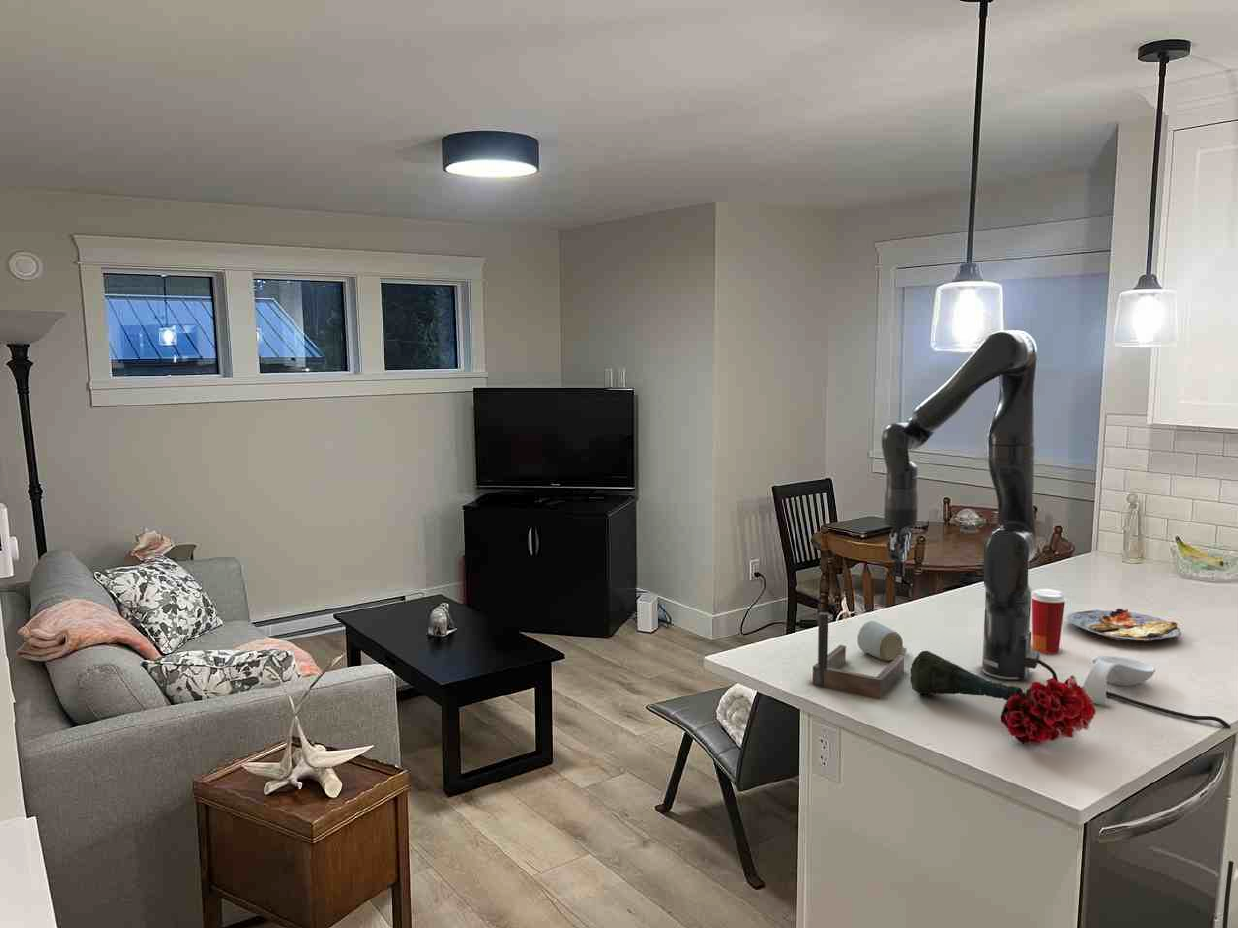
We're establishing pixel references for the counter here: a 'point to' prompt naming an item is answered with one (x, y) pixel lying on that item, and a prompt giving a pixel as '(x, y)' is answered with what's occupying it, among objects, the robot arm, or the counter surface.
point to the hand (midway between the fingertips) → (898, 575)
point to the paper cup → (1047, 620)
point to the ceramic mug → (880, 641)
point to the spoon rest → (1115, 675)
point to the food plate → (1124, 625)
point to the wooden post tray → (845, 680)
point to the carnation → (1012, 699)
